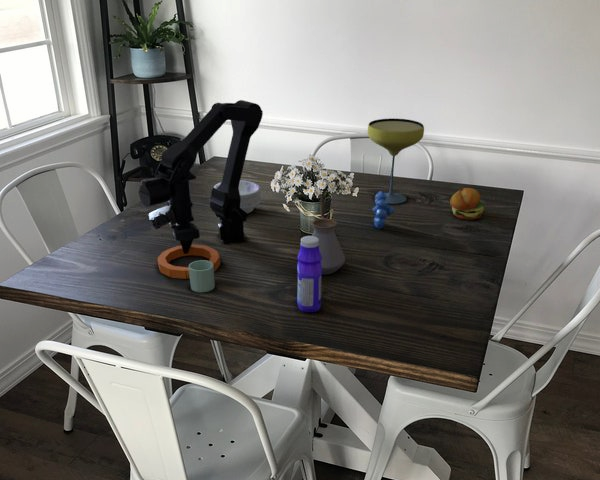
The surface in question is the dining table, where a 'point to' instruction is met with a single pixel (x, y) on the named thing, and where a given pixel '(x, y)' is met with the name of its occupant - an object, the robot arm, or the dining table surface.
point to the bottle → (309, 275)
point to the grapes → (381, 210)
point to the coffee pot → (328, 242)
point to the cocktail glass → (395, 143)
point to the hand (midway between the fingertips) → (184, 251)
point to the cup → (201, 276)
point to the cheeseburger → (467, 204)
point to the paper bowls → (248, 195)
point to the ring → (178, 252)
